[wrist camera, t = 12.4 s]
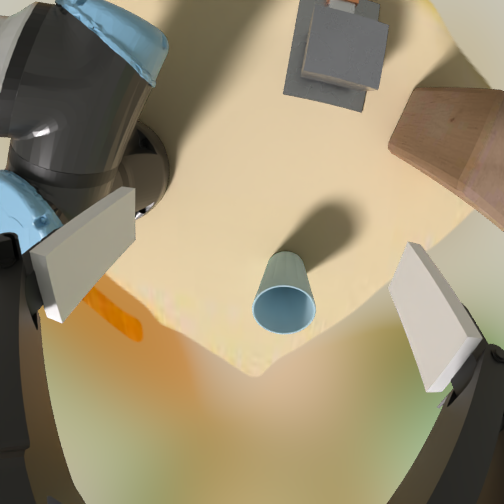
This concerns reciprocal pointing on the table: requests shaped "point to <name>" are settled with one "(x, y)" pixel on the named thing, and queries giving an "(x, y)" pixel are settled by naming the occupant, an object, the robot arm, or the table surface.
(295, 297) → the cup
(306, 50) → the grey metal cube
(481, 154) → the wooden block
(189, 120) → the table surface
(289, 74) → the lever
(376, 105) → the table surface
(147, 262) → the table surface
